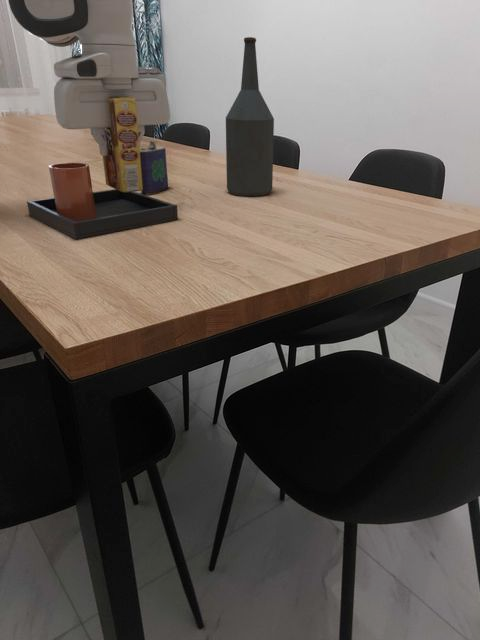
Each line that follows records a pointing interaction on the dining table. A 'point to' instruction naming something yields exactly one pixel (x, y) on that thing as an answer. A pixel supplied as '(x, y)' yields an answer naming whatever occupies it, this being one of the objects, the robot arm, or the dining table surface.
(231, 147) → the bottle
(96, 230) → the tray
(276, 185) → the dining table surface
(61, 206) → the cup
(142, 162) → the flask
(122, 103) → the candy box
